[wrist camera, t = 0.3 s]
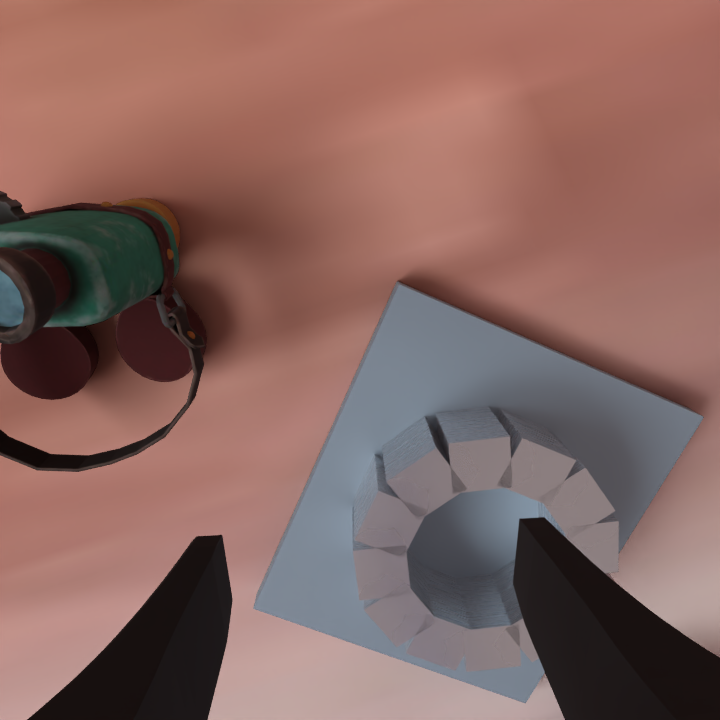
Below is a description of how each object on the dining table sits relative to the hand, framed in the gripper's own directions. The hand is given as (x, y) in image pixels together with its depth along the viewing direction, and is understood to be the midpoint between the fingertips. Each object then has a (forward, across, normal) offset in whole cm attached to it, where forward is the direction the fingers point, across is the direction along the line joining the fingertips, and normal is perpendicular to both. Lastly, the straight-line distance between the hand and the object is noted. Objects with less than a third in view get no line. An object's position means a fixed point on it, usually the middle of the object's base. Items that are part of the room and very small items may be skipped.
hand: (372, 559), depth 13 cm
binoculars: (+12, +10, -3) cm, 15 cm away
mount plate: (+10, -5, +6) cm, 13 cm away
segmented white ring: (+10, -5, +6) cm, 13 cm away
